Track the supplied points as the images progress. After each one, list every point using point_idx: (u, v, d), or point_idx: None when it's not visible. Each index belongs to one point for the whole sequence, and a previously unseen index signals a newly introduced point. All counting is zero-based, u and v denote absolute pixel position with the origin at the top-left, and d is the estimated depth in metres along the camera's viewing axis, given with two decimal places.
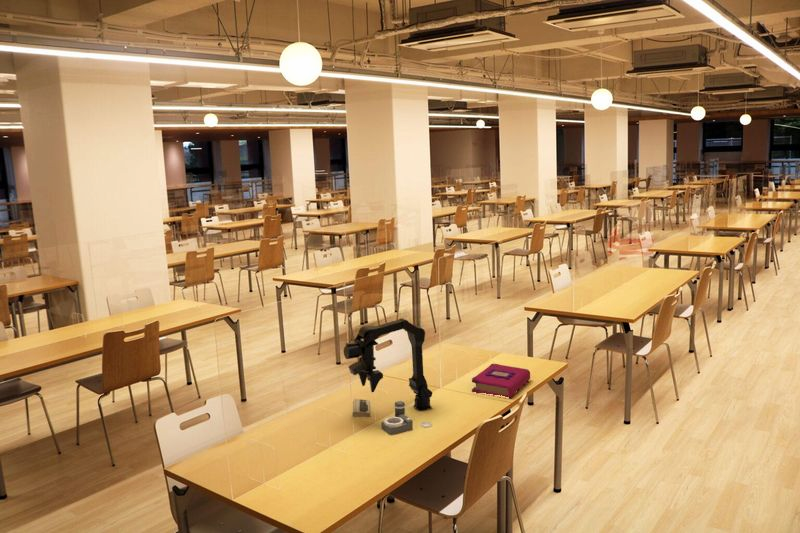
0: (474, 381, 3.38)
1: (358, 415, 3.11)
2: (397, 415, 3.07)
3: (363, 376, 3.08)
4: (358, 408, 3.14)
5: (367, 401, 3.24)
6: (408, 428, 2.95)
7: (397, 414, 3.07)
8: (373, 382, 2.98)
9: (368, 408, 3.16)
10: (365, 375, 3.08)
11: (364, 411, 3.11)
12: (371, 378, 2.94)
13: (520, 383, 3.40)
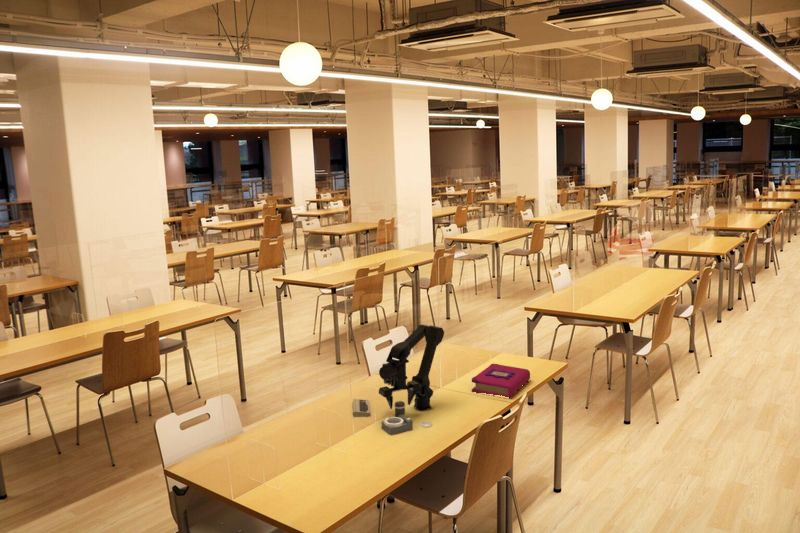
0: (474, 381, 3.38)
1: (358, 415, 3.11)
2: (397, 415, 3.07)
3: (409, 395, 3.10)
4: (358, 408, 3.14)
5: (367, 401, 3.24)
6: (408, 428, 2.95)
7: (397, 414, 3.07)
8: (388, 398, 3.05)
9: (368, 408, 3.16)
10: (410, 396, 3.09)
11: (364, 411, 3.11)
12: (379, 391, 3.05)
13: (520, 383, 3.40)
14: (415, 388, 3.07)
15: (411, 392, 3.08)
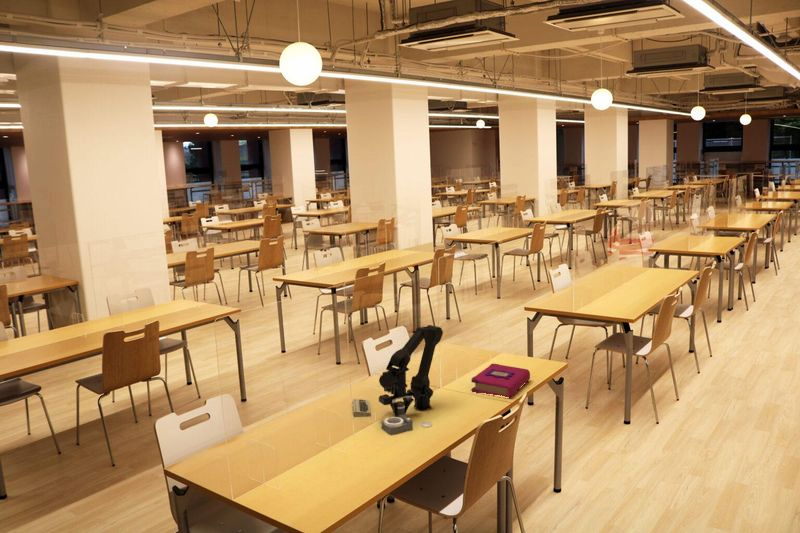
0: (474, 381, 3.38)
1: (359, 415, 3.11)
2: (397, 415, 3.07)
3: None
4: (358, 408, 3.14)
5: (366, 401, 3.24)
6: (408, 428, 2.95)
7: (397, 414, 3.07)
8: (392, 405, 3.06)
9: (368, 408, 3.16)
10: (406, 405, 3.08)
11: (365, 411, 3.11)
12: None
13: (520, 383, 3.40)
14: (415, 396, 3.08)
15: (407, 401, 3.08)
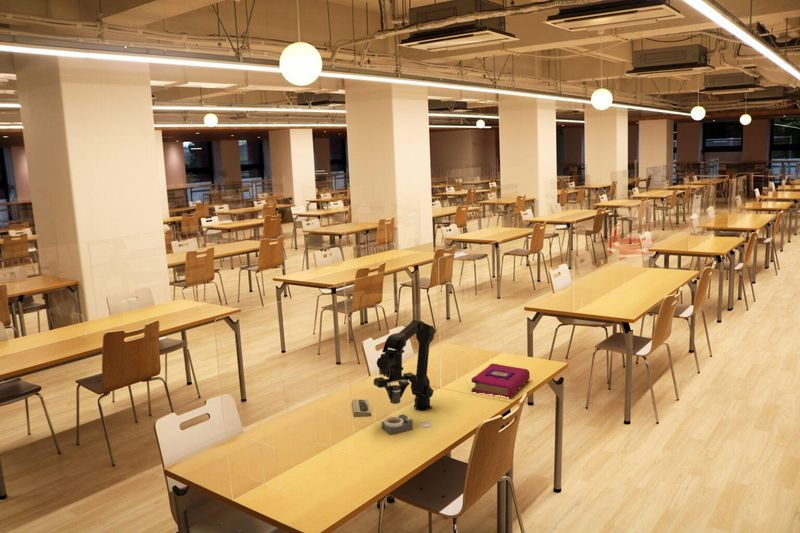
0: (474, 381, 3.38)
1: (359, 415, 3.11)
2: (392, 399, 2.97)
3: (400, 388, 3.00)
4: (358, 408, 3.14)
5: (366, 401, 3.24)
6: (408, 428, 2.95)
7: (392, 398, 2.97)
8: (387, 389, 2.97)
9: (368, 408, 3.16)
10: (402, 389, 2.99)
11: (365, 411, 3.11)
12: None
13: (520, 383, 3.40)
14: (411, 380, 2.98)
15: (402, 385, 2.98)
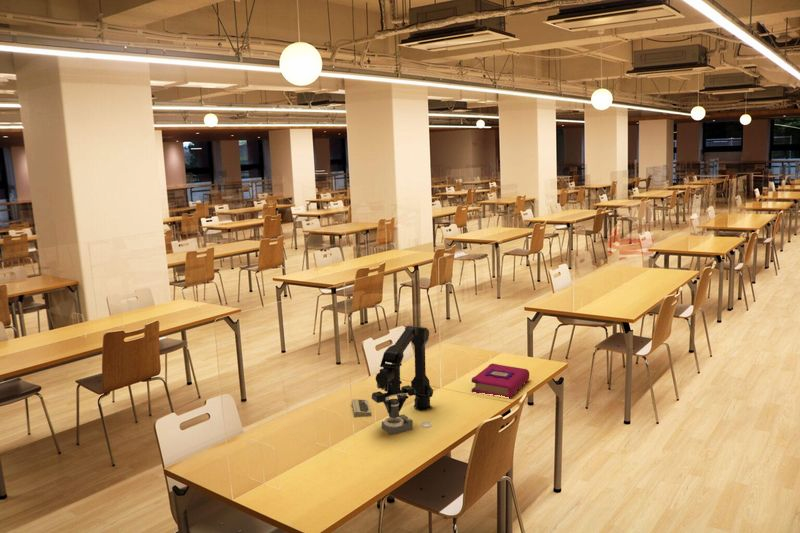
0: (474, 381, 3.38)
1: (359, 415, 3.11)
2: (391, 413, 2.93)
3: (399, 402, 2.95)
4: (359, 408, 3.14)
5: (366, 401, 3.24)
6: (408, 428, 2.95)
7: (391, 412, 2.93)
8: (386, 403, 2.93)
9: (368, 408, 3.16)
10: (400, 403, 2.94)
11: (365, 411, 3.11)
12: None
13: (520, 383, 3.40)
14: (410, 393, 2.94)
15: (401, 398, 2.94)
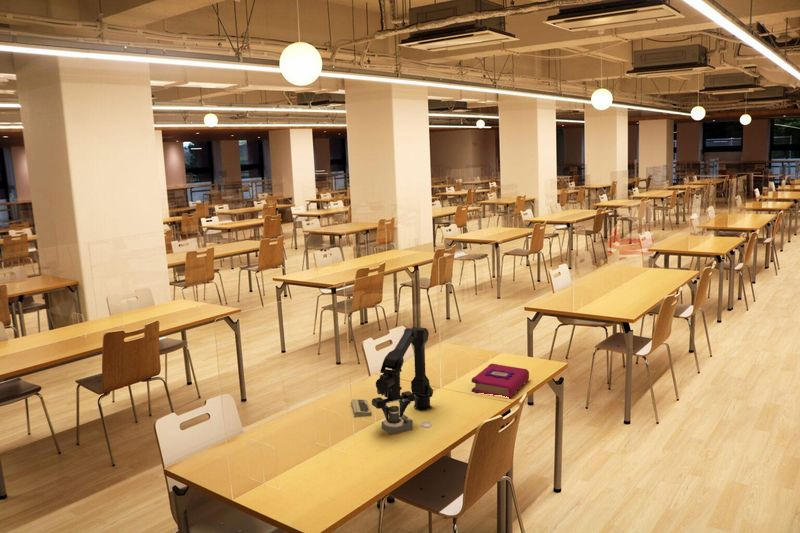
0: (474, 381, 3.37)
1: (360, 415, 3.11)
2: (391, 420, 2.94)
3: (401, 407, 2.96)
4: (359, 408, 3.14)
5: (365, 401, 3.24)
6: (408, 428, 2.95)
7: (391, 419, 2.94)
8: (384, 409, 2.93)
9: (368, 408, 3.16)
10: (402, 408, 2.95)
11: (365, 411, 3.11)
12: None
13: (520, 383, 3.41)
14: (410, 399, 2.94)
15: (403, 404, 2.95)
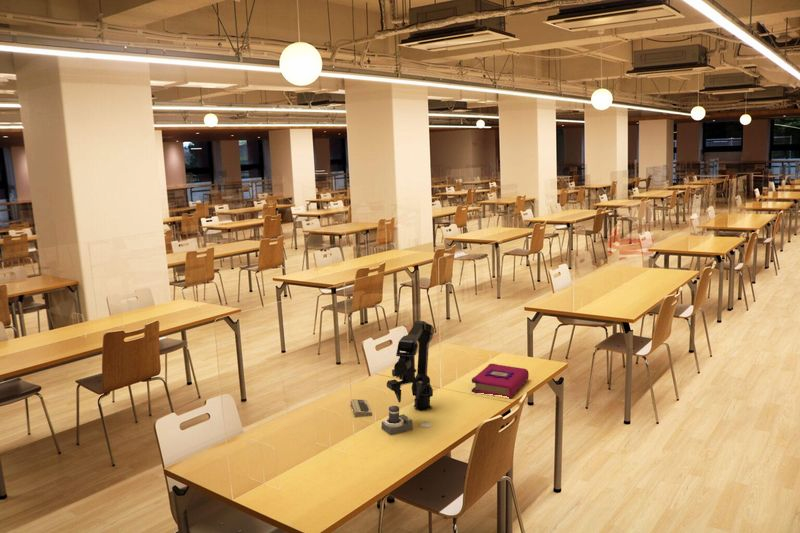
0: (474, 381, 3.37)
1: (360, 415, 3.11)
2: (391, 420, 2.94)
3: (418, 389, 3.00)
4: (359, 408, 3.14)
5: (365, 401, 3.24)
6: (408, 428, 2.95)
7: (391, 419, 2.94)
8: (396, 392, 2.95)
9: (368, 408, 3.16)
10: (420, 389, 2.99)
11: (366, 411, 3.11)
12: None
13: (519, 383, 3.41)
14: (424, 381, 2.98)
15: (420, 385, 2.99)
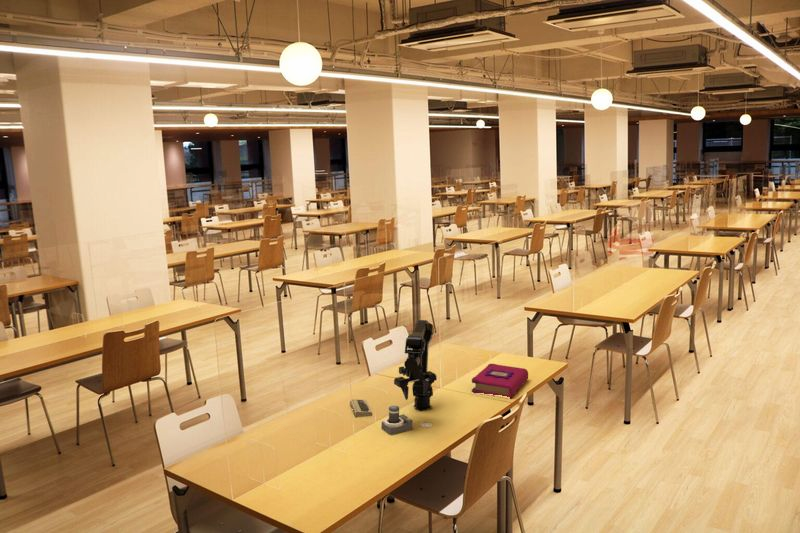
0: (474, 381, 3.37)
1: (360, 415, 3.11)
2: (391, 420, 2.94)
3: (425, 386, 3.02)
4: (359, 408, 3.14)
5: (364, 401, 3.24)
6: (408, 428, 2.95)
7: (391, 419, 2.94)
8: (403, 389, 2.97)
9: (368, 407, 3.16)
10: (426, 387, 3.01)
11: (366, 411, 3.12)
12: (394, 381, 2.97)
13: (519, 383, 3.41)
14: (431, 379, 2.99)
15: (427, 383, 3.00)
